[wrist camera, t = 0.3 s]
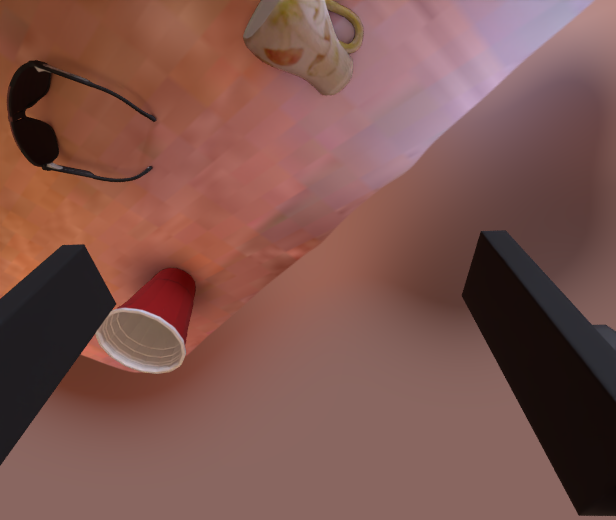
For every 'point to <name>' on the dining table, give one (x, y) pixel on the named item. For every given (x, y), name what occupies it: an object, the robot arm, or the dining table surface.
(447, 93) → the dining table surface
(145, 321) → the plastic cup
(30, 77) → the sunglasses
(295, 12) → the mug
